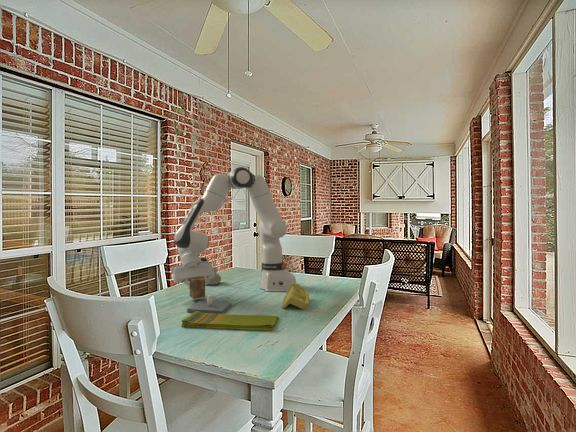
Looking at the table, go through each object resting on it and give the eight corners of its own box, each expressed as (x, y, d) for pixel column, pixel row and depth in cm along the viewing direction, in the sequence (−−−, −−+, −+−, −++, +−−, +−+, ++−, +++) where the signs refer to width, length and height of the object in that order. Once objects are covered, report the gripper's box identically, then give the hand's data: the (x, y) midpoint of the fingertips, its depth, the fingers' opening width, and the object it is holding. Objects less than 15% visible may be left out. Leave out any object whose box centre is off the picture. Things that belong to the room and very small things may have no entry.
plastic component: (308, 305, 148) (288, 295, 148) (301, 319, 149) (281, 309, 149) (308, 290, 168) (290, 281, 168) (302, 302, 169) (284, 294, 169)
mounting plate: (231, 305, 155) (231, 292, 155) (222, 314, 143) (221, 299, 143) (199, 304, 158) (199, 290, 158) (187, 312, 146) (186, 297, 146)
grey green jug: (215, 281, 204) (215, 264, 203) (223, 283, 198) (223, 266, 198) (199, 284, 196) (199, 267, 196) (207, 286, 190) (207, 269, 190)
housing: (201, 294, 169) (200, 276, 168) (205, 297, 164) (204, 278, 163) (189, 296, 165) (189, 278, 165) (193, 299, 161) (193, 280, 160)
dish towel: (196, 315, 144) (196, 308, 144) (278, 319, 139) (278, 311, 139) (180, 328, 129) (180, 320, 128) (272, 333, 124) (272, 324, 124)
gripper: (171, 262, 164) (177, 286, 156) (211, 258, 175) (218, 280, 167) (168, 270, 168) (174, 293, 160) (208, 265, 179) (215, 287, 171)
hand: (197, 286), depth 164 cm, fingers closed on housing, 6 cm apart
